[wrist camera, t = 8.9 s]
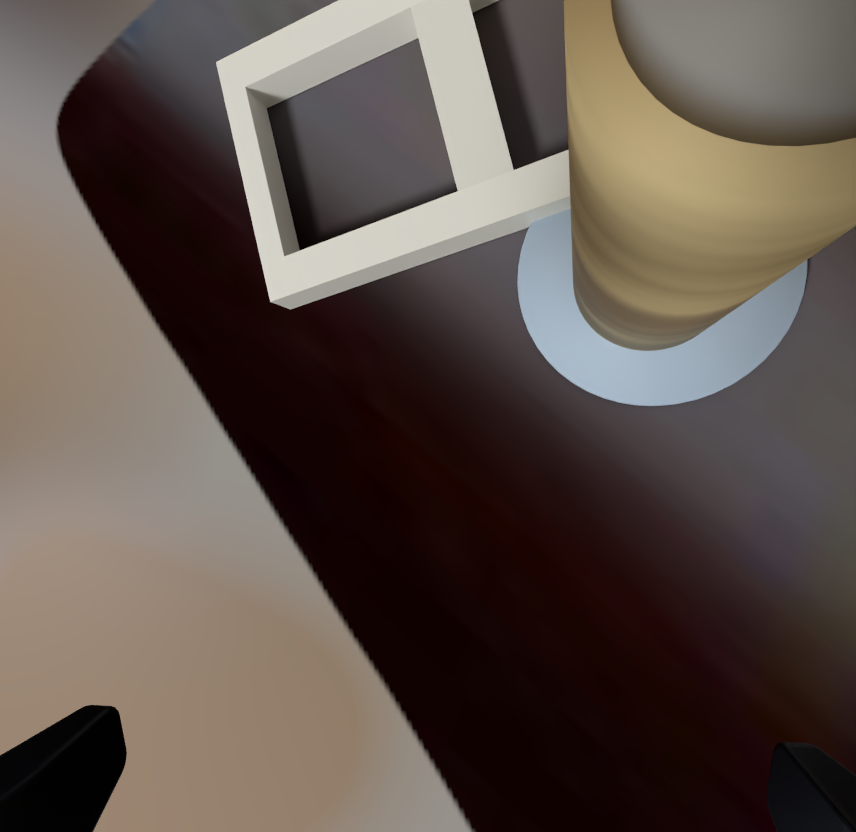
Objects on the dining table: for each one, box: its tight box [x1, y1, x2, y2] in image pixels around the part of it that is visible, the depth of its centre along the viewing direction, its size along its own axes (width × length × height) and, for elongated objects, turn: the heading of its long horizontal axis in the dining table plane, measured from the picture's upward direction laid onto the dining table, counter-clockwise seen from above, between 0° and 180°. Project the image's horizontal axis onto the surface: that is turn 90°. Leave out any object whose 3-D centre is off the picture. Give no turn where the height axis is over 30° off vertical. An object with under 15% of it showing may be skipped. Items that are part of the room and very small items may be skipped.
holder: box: [216, 0, 571, 309], centre depth 19 cm, size 10×18×2 cm, turn 104°
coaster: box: [518, 209, 808, 406], centre depth 18 cm, size 9×9×1 cm
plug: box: [564, 0, 856, 351], centre depth 11 cm, size 5×5×14 cm
